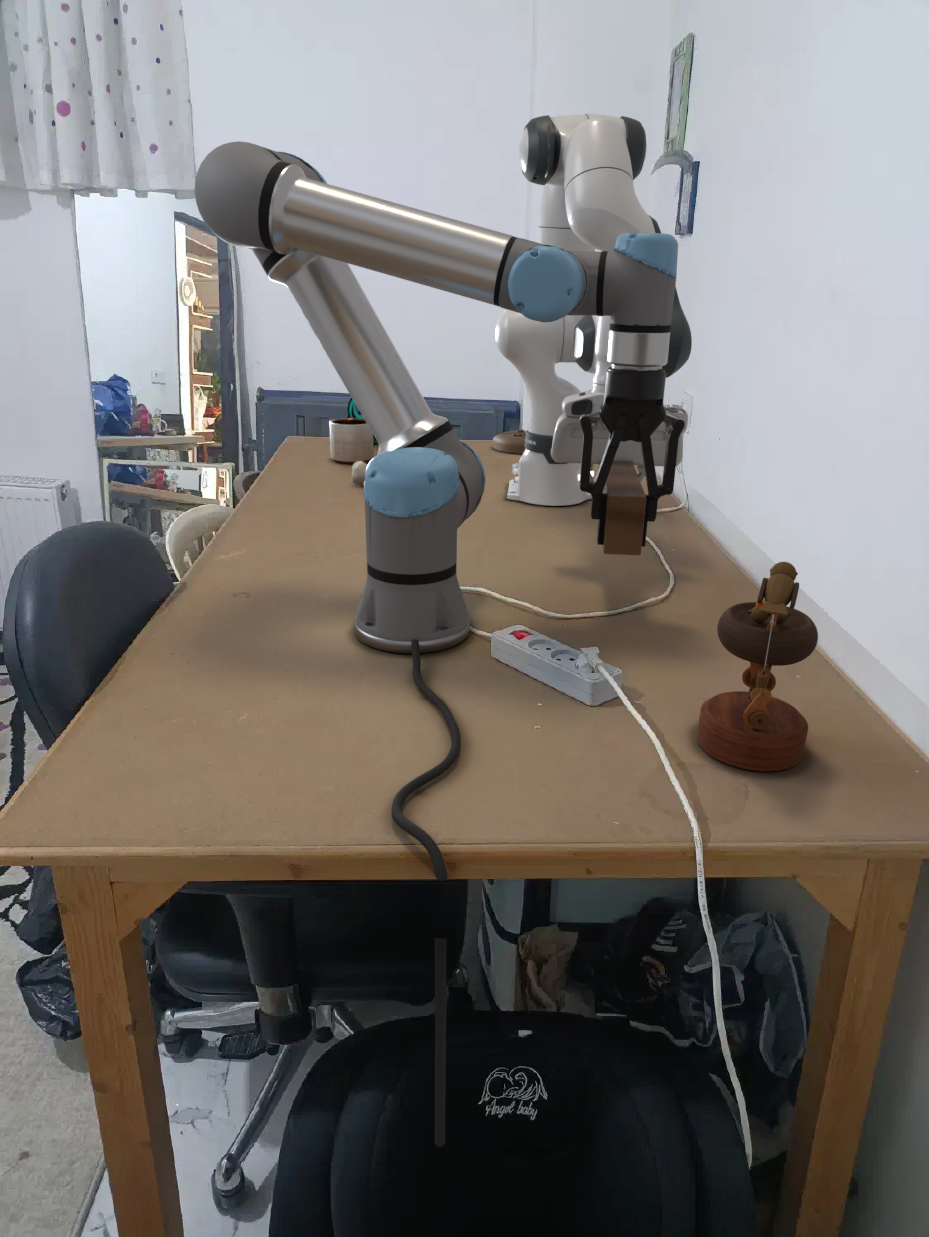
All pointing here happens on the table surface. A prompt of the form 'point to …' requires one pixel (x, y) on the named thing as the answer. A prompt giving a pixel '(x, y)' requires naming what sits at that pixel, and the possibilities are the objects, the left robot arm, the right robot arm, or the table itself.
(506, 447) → the brown rounded slab
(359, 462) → the dog toy
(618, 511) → the bar
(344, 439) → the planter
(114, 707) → the table surface
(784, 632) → the wooden figurine sculpture
